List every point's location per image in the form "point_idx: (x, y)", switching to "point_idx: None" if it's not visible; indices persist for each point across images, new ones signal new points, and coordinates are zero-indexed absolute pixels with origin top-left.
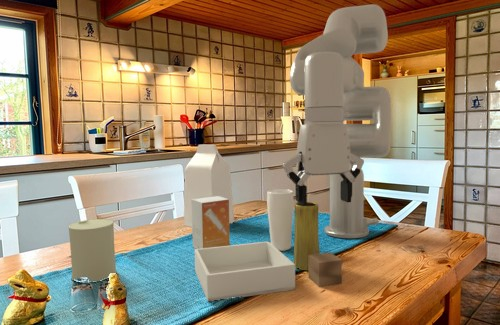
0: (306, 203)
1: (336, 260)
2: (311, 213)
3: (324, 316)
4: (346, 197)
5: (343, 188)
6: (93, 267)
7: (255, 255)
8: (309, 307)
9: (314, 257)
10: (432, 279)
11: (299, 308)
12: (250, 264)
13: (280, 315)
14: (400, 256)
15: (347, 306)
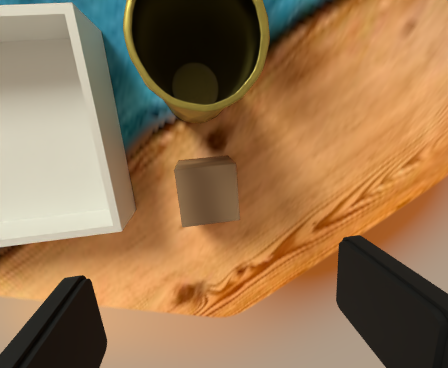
0: (102, 353)
1: (227, 220)
2: (205, 113)
3: (158, 302)
4: (349, 311)
5: (389, 321)
6: None
7: (45, 31)
8: (144, 275)
9: (184, 190)
10: (385, 214)
11: (127, 276)
12: (41, 54)
13: None
14: (422, 87)
15: (203, 280)
